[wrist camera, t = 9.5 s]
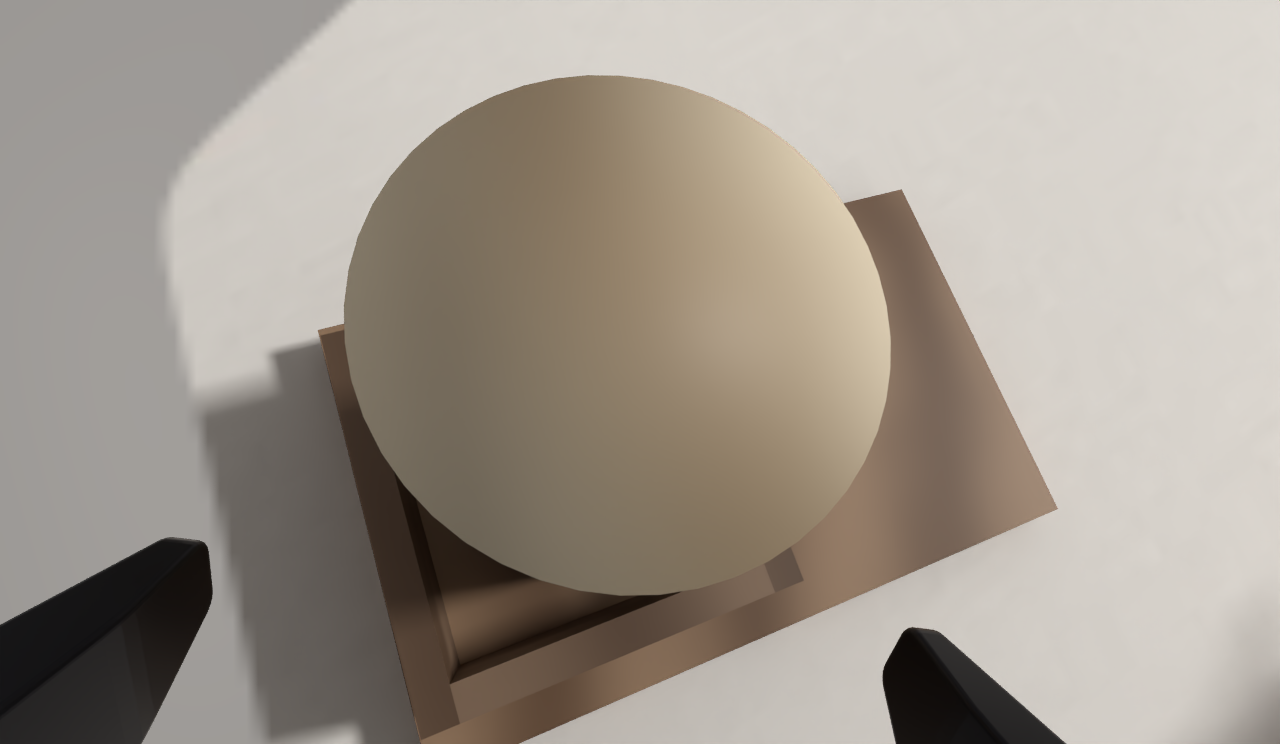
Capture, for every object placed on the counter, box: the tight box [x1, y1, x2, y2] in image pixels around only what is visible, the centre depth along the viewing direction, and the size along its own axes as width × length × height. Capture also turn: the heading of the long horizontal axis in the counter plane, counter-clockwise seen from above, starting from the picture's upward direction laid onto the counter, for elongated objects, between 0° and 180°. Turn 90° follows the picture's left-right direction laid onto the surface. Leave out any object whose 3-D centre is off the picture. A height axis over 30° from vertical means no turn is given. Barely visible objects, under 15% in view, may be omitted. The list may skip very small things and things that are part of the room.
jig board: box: [318, 189, 1058, 744], centre depth 19 cm, size 20×12×4 cm, turn 110°
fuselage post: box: [344, 75, 891, 596], centre depth 12 cm, size 5×5×13 cm
